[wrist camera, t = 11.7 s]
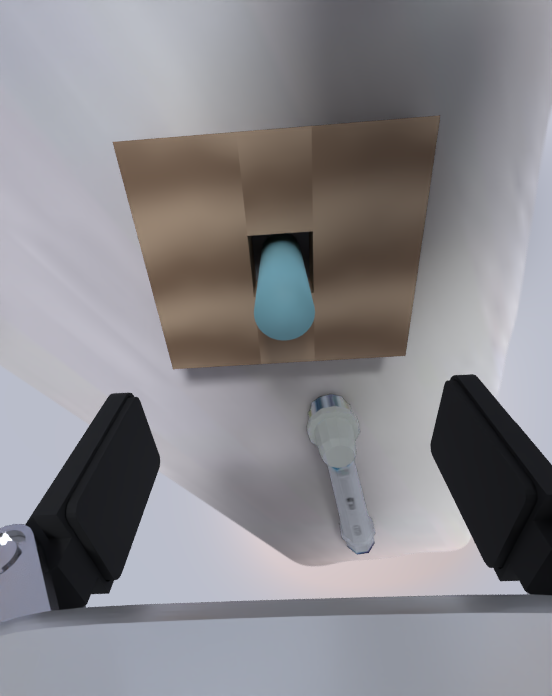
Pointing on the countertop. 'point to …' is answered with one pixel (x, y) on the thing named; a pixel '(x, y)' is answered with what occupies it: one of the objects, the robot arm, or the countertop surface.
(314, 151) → the socket block
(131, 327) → the countertop surface
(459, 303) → the countertop surface
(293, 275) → the peg
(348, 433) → the white handheld massager
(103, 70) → the countertop surface
